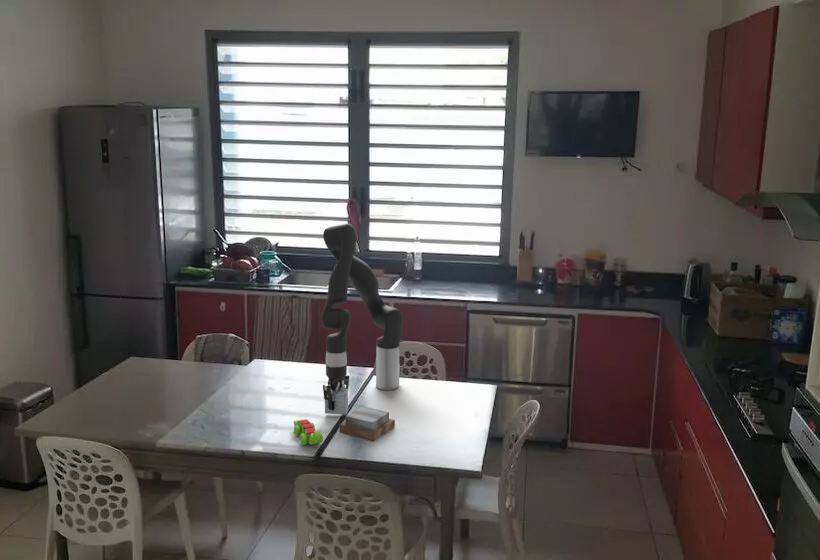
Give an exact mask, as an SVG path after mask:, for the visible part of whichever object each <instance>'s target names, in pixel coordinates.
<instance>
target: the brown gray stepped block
mask: <svg viewBox="0 0 820 560" xmlns="http://www.w3.org/2000/svg"><path fill="white" fill-rule="evenodd" d="M395 422H396V420H395V419H393V418H390V412H389V411H384V410H381V409H377V408H372V407H368V406H364V405H362V406H360V407H359V408H356V409H355V410H353V411H351V412H350V413H347V414H346V415H345V421H343V422H341V423H339V427H338V428H339V429H338V431H339V433H340V434H343V435H346V436H350V437H353V438H354V437H355V438H357V439H361V440H366V441H370V442H376V441H377V440H379V439H380V438H383V436H385V435H387V434H388V433H389V432H391V431H392V430H394V429H395V428H396V427H395V425H396V424H395Z"/></svg>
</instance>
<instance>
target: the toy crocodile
mask: <svg viewBox="0 0 820 560" xmlns="http://www.w3.org/2000/svg"><path fill="white" fill-rule="evenodd" d="M293 433H294V435H296V436H298V437H299V442H300V445H301V444H302V445H301V446H306V445H307V444H308V443H309V444H310V445H314V444H319V442H320V443H322V442H323V439H324V438H323V434H322V432H321V430H320V429H317V430H316V427H315V423H314V422H311V421H309V420H308V419H307V418H305V419H304V418H303V419H302V418H301V419H298V420H294V421H293ZM296 436H295V437H296Z"/></svg>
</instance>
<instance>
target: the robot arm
mask: <svg viewBox="0 0 820 560" xmlns="http://www.w3.org/2000/svg"><path fill="white" fill-rule="evenodd" d="M322 235H323V242H324V244H325V245H326V248H327V249H328V251H329V252H330V253H331V255H332V256H333V257H334V258H335V260H336V261H337V263H336V265H335V267H334V269H333V270H332V272H331V274H330V276H329V278H328V279H329V280H328V285H327V286H328V287H327V298H326V301H325V306H324V308H323V310H322V313H321V315H320V323H321V326H322V327H323V328H324V329H337V330H338V329H340V331H338V332H335V333H330V334H327V336H326V340H325V342H326V344H325V345H326V348H325V349H326V352H325V376H326V377H327V378H328V380H327V384H323V385H322V391H323V399H324V401H325V400H328V408H329V410H334V409H335V400H334V399H335V395H336V394H337V391H338V390H339V389H341V388H342V389H348V390H349V386H350V375H348V372H347V371H348V368H347V365H348V363H347V362H348V357H347V356H348V355H347V336H348V331H349V328H350V324H351V320H352V315H351V312H350V311H349V309H347V308H335V306H338V305H343V304H345V303H347V300H348V292H349V291H348V290H349V289H348V288H349V281H350V282H351V284H352V286H353V287H354V290H355V291H356V292H357V294H358V295H359V296H360V299H362V302H363V303H364V305H365V307H366V309H367V311H368V313H369V316H370V318H371V319H372V322H373V323H374V325H375V326H377V327H378V328H380V329H383V335H382V336H379V337H378V338H377V339H376V355H375V356H376V359H375V361H376V362H375V363H376V364H375V365H376V367H375V368H376V369H375V387H376V388H377V389H379V390H382V391H390V390H391V391H393V390H397V389H398V388H399V387H400V386H399V385H400V368H401V367H400V344H401V341H402V337H403V336H402V335H403V325H404V324H403V323H404V322H403V321H404V319H403V313H402V312H401V310H400V309H398V308H395V307H393V306H390V305H387V304H386V303H385V301H384V300H383V299H382V297H381V295H380V293H379V281H378V278H377V276H376V274H375V273H374V271H373V269H372V268H371V266H369V264H367V263H366V262H365V261H363V260H362V259H360V258H359V257H357V256H355V255H354V254H355V250H356V244H357V232H356V229H355V226H353V225H352V224H351V223H343V224H338V225H331V226H328V227H326V228H325V229H324V230H323V234H322ZM331 390H333V391H334V392H331ZM331 394H333V395H332V397H331ZM327 395H328V396H327Z"/></svg>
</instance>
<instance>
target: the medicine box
mask: <svg viewBox="0 0 820 560" xmlns="http://www.w3.org/2000/svg"><path fill="white" fill-rule="evenodd" d="M331 392H334V391H333V390H331ZM332 395H333V394H331V397H332ZM327 396H328V395H327ZM334 400H335V409H334V410H329V408H328V400H325V399H324V414H325V415H326V414H330V415H345V416H346V415H348V411H349V388H348V389H342V388H341V389H339V390H338V391H337V394H336V395H335V399H334Z"/></svg>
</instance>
